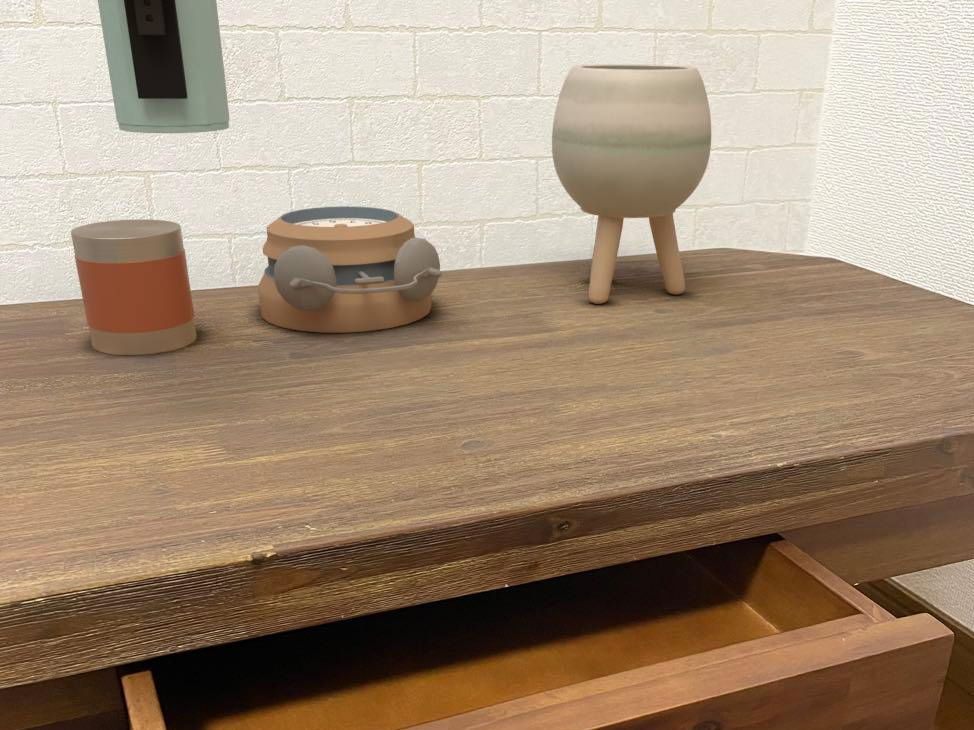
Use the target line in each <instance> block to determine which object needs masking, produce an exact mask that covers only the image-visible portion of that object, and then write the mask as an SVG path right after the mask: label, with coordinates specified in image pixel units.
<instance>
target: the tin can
mask: <svg viewBox="0 0 974 730" xmlns="http://www.w3.org/2000/svg"><path fill="white" fill-rule="evenodd" d="M70 236H71V241H72V246H73V251H74V261H75V266H76V271H77V277H78V281H79V286H80V292H81V297H82V298H81V299H82V303H83V307H84V308H83V309H84V313H85V318H86V324H87V326H88V330H89V335H90V342H91V346H92V348H93V349H94V350H95V351H98V352H100V353H104V354H108V355H115V356H145V355H146V356H147V355H154V354H155V355H156V354H163V353H166V352H167V353H168V352H172V351H177V350H179V349H183V348H185V347H188V346H189V345H191V344H193V343H194V342H195V341H196V340H197V337H198V336H197V329H196V324H195V323H196V322H195V311H194V305H193V304H194V303H193V298H192V297H193V296H192V291H191V290H192V289H191V284H190V283H191V282H190V276H189V270H188V269H189V268H188V262H187V255H186V249H185V245H184V239H183V232H182V226H181V225H180V224H179V223H177V222H174V221H169V220H161V219H145V218H143V219H117V220H116V219H115V220H107V221H106V220H105V221H100V222H99V221H98V222H93V223H88V224H84V225H80V226H77V227H75V228H73V229H71V230H70Z"/></svg>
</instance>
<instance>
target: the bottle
mask: <svg viewBox="0 0 974 730" xmlns="http://www.w3.org/2000/svg"><path fill="white" fill-rule="evenodd" d="M175 3H176V10H177V18H178V26H179V34H180V42H181V49H182V57H183V65H184V73H185V81H186V89H187V96H188V98H187V99H138V93H137V86H136V79H135V73H134V66H133V59H132V52H131V46H130V39H129V32H128V25H127V18H126V12H125V5H124V0H97V5H98V10H99V18H100V24H101V31H102V35H103V43H104V49H105V56H106V62H107V67H108V75H109V80H110V87H111V94H112V100H113V106H114V113H115V119H116V122H117V124H118V129H119V130H121V131H123V132H129V133H138V134H139V133H140V134H141V133H142V134H193V133H194V134H195V133H209V132H217V131H224V130H227V129H229V128H230V119H231V118H230V111H229V101H228V93H227V83H226V76H225V67H224V58H223V56H224V55H223V48H222V40H221V30H220V19H219V11H218V3H217V0H175Z"/></svg>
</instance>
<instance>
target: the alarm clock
mask: <svg viewBox="0 0 974 730" xmlns="http://www.w3.org/2000/svg"><path fill="white" fill-rule="evenodd" d="M265 228H266V235H267V236H266V241H265V243H264V244H263V247H262V254H263V255H264V256H265V257H267V264H268V266H267V267H266V268H265V269H264V271H263V275H262V276H261V279H260V281H259V282H258V286H257V291H258V300H259V308H260V309H259V310H260V316H261V318H262V319H263V320H265V321H266V322H267V323H269V324H271V325H273V326H277V327H279V328H284V329H287V330H294V331H299V332H311V333H323V334H325V333H326V334H329V333H331V334H349V333H365V332H373V331H380V330H381V331H382V330H388V329H393V328H396V327H401V326H406V325H409V324H411V323H415V322H416V321H420V320H422V319H423V318H425V317H426V316H428V315H429V314H430V311H431V309H432V305H433V304H432V294H433V292H434V291H435V289H436V288H437V284H438V282H439V279H440V277H442V271H441V263H440V256H439V253H438V251H437V250H436V247H435V246H434V245H433V244H432V243H431V242H430V241H428V240H427V239H425V238H422V237H416V235H415V225H414V223H413V222H412V221H411V220H409V219H408V218H406V217H405V216H403V215H401V214H400V213H398V212H396V211H394V210H391V209H385V208H380V207H371V206H349V205H348V206H346V205H345V206H343V205H342V206H341V205H340V206H321V207H311V208H303V209H297V210H293V211H289V212H286V213H283V214H282V215H280V216H279V217H277V218H276V219H275V220H274V221H272V222H271V223H269V224H268V225H267V226H266V227H265Z"/></svg>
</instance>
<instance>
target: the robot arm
mask: <svg viewBox="0 0 974 730" xmlns="http://www.w3.org/2000/svg"><path fill="white" fill-rule="evenodd" d="M124 5H125V12H126V18H127V25H128V32H129V39H130V46H131V52H132V59H133V66H134V73H135V79H136V86H137V93H138V99H187V98H188V96H187V89H186V81H185V73H184V65H183V57H182V49H181V42H180V34H179V26H178V18H177V10H176V3H175V0H124Z"/></svg>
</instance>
